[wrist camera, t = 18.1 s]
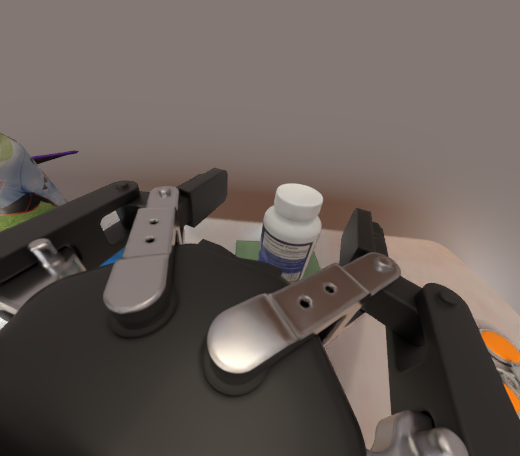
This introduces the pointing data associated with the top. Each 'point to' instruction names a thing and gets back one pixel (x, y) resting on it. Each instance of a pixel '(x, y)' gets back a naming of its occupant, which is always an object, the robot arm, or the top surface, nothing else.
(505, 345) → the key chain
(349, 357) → the top surface
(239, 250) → the mat
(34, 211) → the beverage can
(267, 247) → the pill bottle
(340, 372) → the top surface
